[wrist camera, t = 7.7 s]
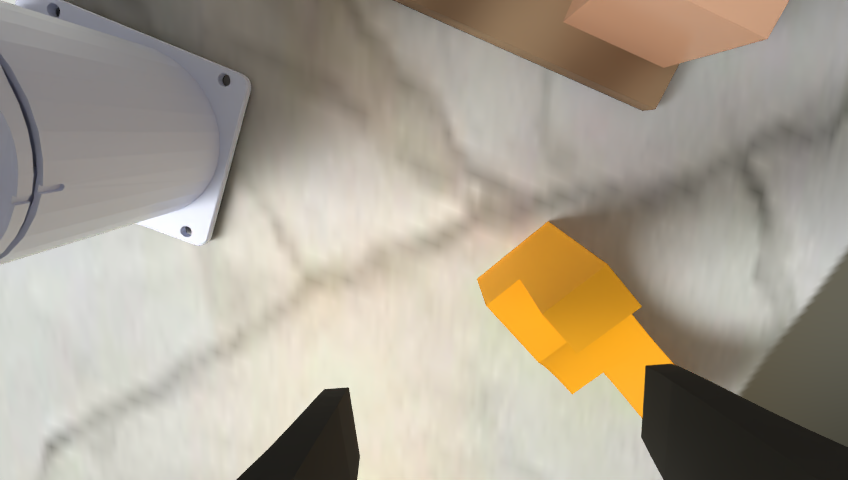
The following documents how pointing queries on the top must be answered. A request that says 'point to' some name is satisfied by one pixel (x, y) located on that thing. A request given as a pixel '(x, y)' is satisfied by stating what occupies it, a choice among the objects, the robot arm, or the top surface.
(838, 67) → the top surface
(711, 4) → the socket
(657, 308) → the top surface
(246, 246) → the top surface
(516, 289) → the orange piece
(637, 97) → the board
